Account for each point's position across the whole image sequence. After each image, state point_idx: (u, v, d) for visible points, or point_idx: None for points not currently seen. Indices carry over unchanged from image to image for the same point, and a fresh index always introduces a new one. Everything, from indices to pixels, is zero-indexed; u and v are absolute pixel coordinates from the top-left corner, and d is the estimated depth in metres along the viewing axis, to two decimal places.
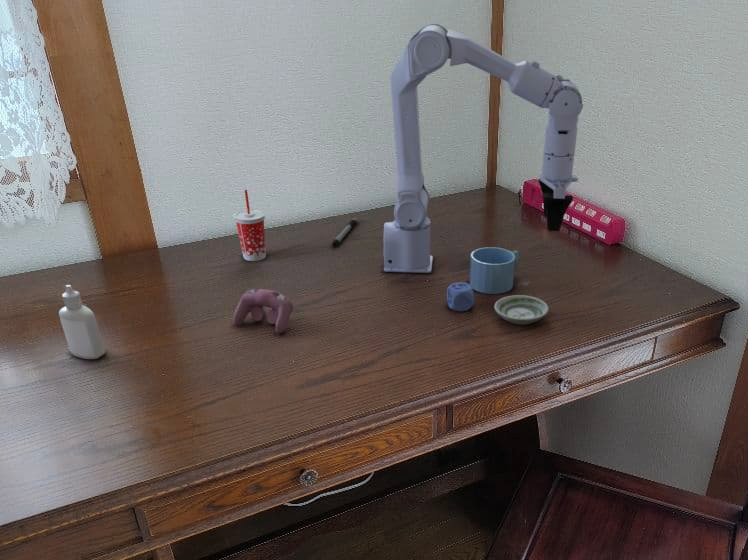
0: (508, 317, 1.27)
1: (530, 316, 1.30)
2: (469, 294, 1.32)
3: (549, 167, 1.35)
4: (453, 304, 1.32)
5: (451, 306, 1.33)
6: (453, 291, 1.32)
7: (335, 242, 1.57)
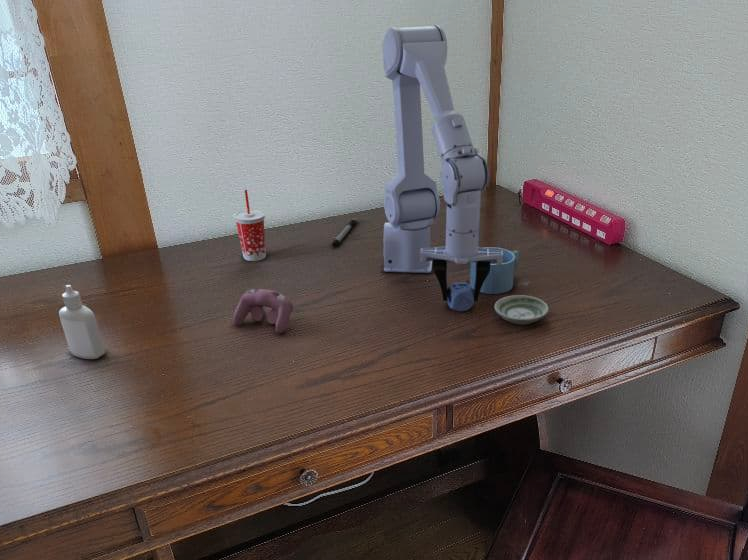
0: (508, 317, 1.27)
1: (530, 316, 1.30)
2: (469, 294, 1.32)
3: None
4: (453, 304, 1.32)
5: (451, 306, 1.33)
6: (453, 291, 1.32)
7: (335, 242, 1.57)
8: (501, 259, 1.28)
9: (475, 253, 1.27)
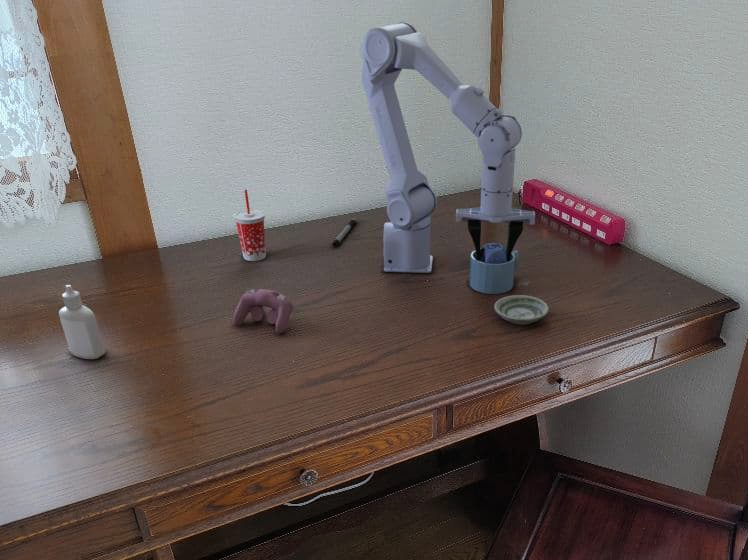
0: (508, 317, 1.27)
1: (530, 316, 1.30)
2: (502, 253, 1.38)
3: None
4: None
5: None
6: (486, 250, 1.38)
7: (335, 242, 1.57)
8: (533, 219, 1.35)
9: (509, 213, 1.33)
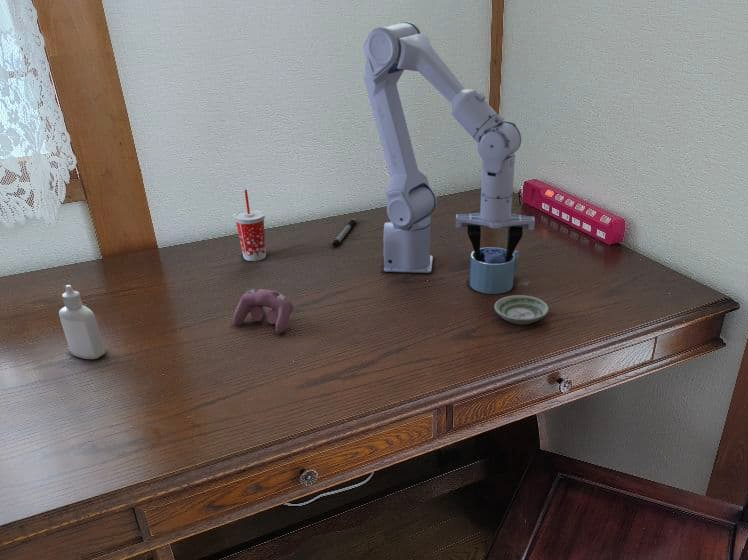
0: (508, 317, 1.27)
1: (530, 316, 1.30)
2: (502, 258, 1.38)
3: None
4: None
5: None
6: (486, 255, 1.38)
7: (335, 242, 1.57)
8: (533, 224, 1.35)
9: (508, 218, 1.34)
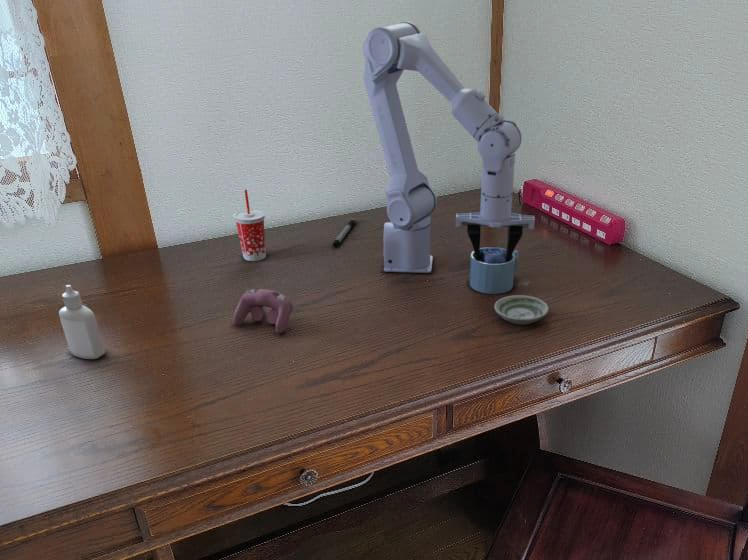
0: (508, 317, 1.27)
1: (530, 316, 1.30)
2: (502, 257, 1.38)
3: None
4: None
5: None
6: (486, 255, 1.38)
7: (336, 242, 1.57)
8: (533, 224, 1.35)
9: (508, 218, 1.34)
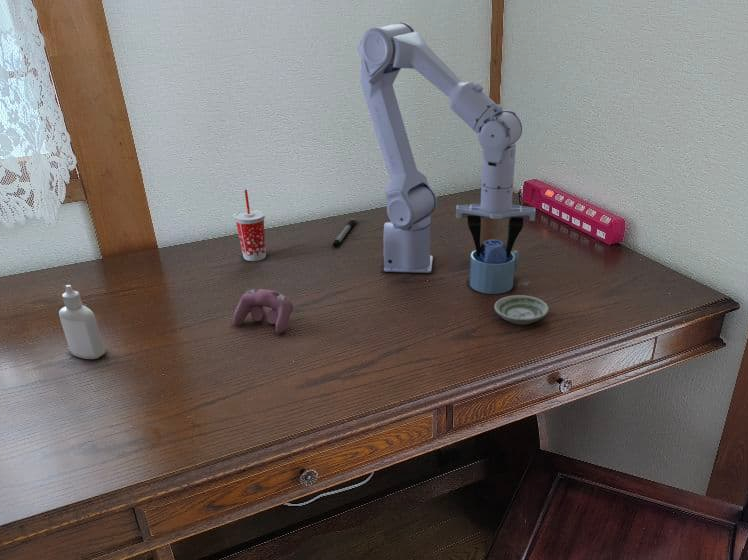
0: (508, 317, 1.27)
1: (530, 316, 1.30)
2: (502, 249, 1.37)
3: None
4: (487, 259, 1.38)
5: (484, 262, 1.39)
6: (486, 247, 1.37)
7: (336, 242, 1.57)
8: (534, 215, 1.34)
9: (509, 209, 1.33)
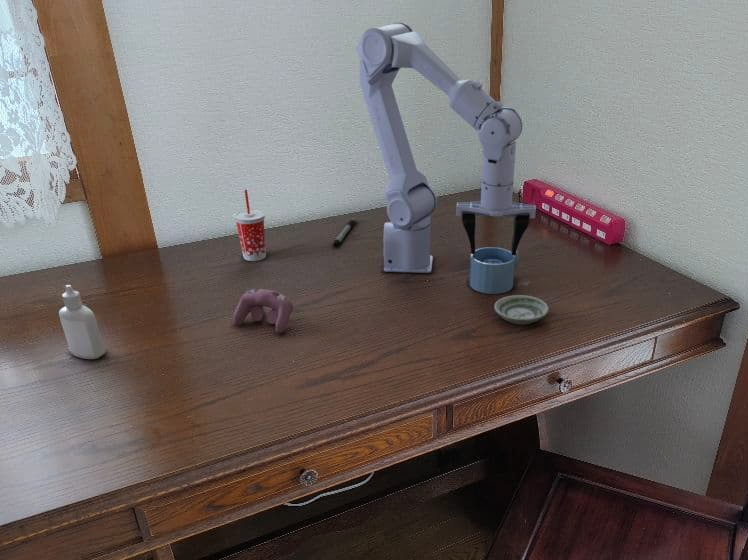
0: (508, 317, 1.27)
1: (530, 316, 1.30)
2: None
3: None
4: None
5: None
6: None
7: (336, 242, 1.57)
8: (534, 213, 1.34)
9: (509, 206, 1.33)
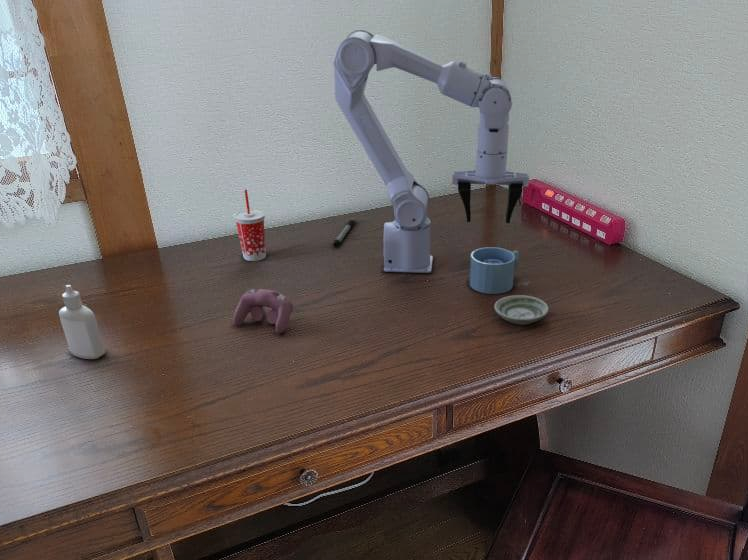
0: (508, 317, 1.27)
1: (530, 316, 1.30)
2: None
3: None
4: None
5: None
6: None
7: (336, 242, 1.57)
8: (527, 181, 1.39)
9: (503, 175, 1.38)
